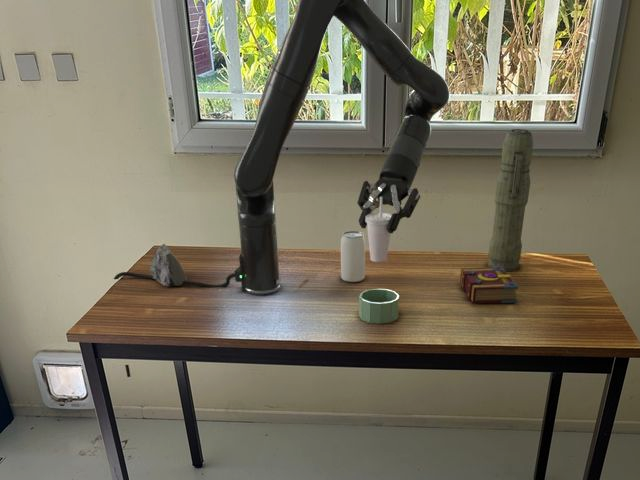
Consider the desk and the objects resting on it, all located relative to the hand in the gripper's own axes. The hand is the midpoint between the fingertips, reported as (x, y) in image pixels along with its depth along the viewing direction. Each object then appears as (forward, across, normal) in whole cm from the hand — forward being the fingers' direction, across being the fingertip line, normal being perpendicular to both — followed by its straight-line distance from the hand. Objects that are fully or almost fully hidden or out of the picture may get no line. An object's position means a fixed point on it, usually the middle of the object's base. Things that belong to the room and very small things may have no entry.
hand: (375, 228), depth 155 cm
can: (+1, -18, +30) cm, 35 cm away
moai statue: (-21, +13, +51) cm, 57 cm away
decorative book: (-6, +17, +36) cm, 40 cm away
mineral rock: (+19, -61, +11) cm, 65 cm away
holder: (+14, 0, +16) cm, 21 cm away
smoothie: (+4, 0, +6) cm, 8 cm away
